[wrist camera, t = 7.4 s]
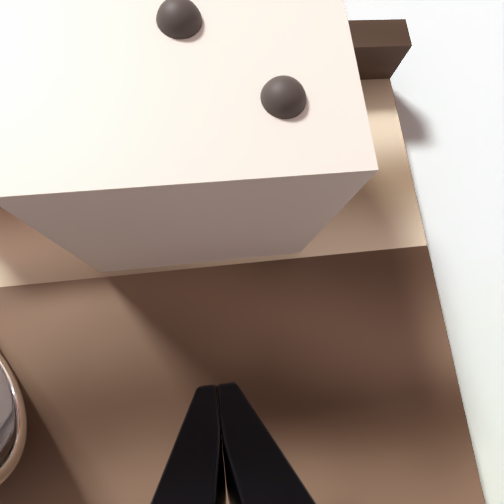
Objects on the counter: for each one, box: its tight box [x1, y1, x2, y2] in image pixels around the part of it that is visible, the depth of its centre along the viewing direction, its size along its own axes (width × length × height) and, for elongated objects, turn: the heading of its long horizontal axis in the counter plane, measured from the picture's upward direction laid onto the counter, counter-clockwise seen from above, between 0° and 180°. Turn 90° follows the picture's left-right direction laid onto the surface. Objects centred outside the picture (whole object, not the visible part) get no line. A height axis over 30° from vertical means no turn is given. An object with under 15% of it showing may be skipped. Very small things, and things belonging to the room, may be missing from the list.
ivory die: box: [0, 0, 379, 272], centre depth 12 cm, size 8×8×8 cm
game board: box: [0, 19, 485, 504], centre depth 14 cm, size 20×18×3 cm
